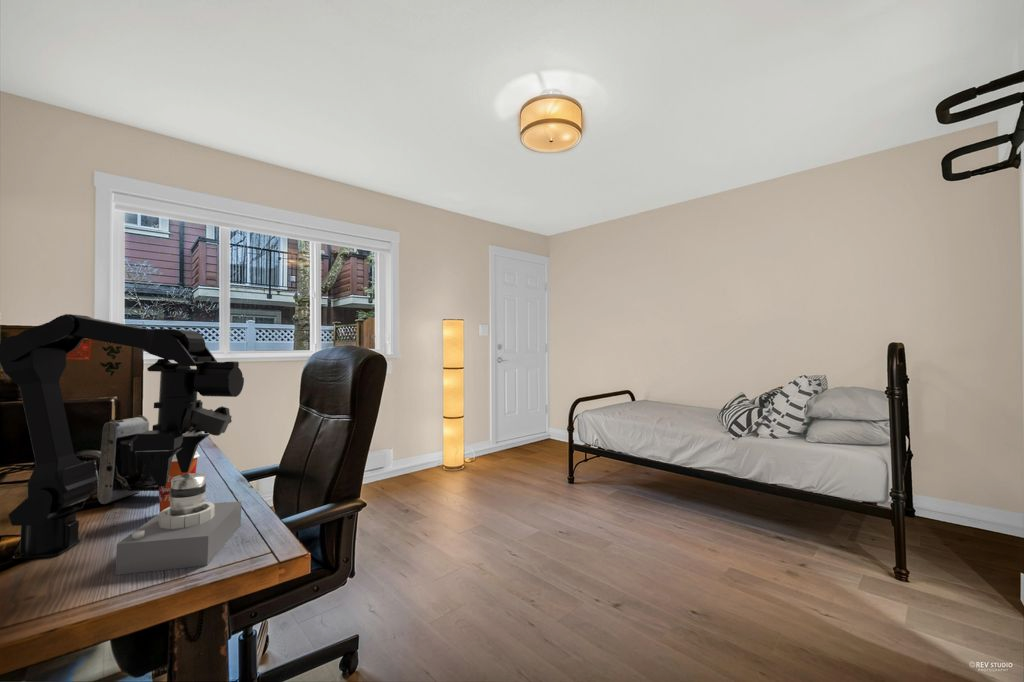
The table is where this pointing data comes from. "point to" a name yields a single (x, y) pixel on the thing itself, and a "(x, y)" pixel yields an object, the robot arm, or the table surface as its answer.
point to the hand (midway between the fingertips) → (174, 479)
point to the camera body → (178, 539)
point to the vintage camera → (122, 461)
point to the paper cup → (174, 471)
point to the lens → (187, 494)
